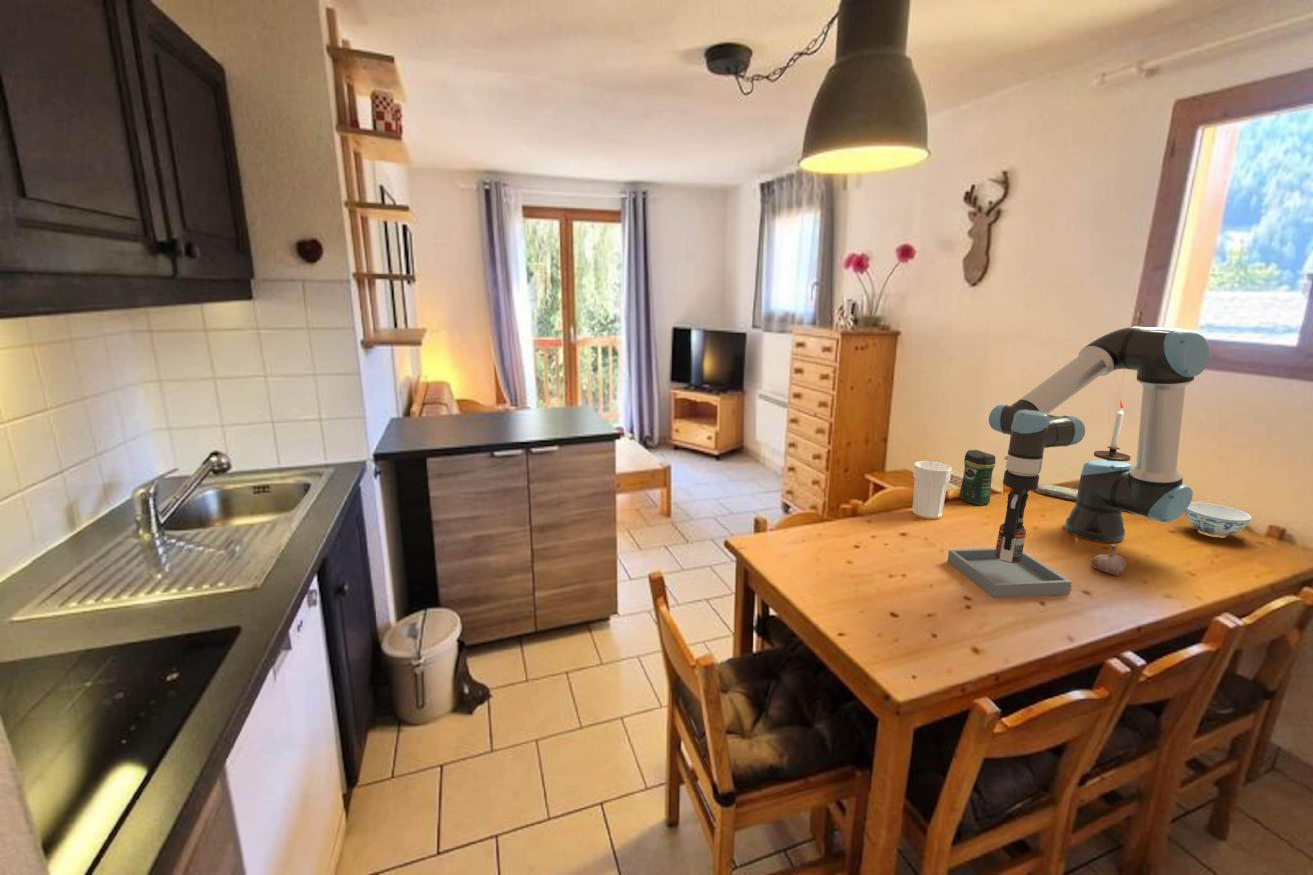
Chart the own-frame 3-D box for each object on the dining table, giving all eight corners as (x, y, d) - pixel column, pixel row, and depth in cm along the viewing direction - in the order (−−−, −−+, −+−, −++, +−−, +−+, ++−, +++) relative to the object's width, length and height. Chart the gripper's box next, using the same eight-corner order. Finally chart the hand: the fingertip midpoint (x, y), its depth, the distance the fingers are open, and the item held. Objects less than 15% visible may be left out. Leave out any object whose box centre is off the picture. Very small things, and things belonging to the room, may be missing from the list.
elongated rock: (1037, 491, 224) (1031, 499, 217) (1038, 478, 223) (1033, 486, 216) (1156, 509, 201) (1154, 518, 194) (1158, 494, 199) (1156, 503, 192)
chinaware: (1259, 544, 173) (1266, 520, 172) (1208, 544, 174) (1214, 520, 172) (1213, 524, 188) (1219, 502, 186) (1166, 524, 188) (1172, 502, 186)
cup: (951, 521, 191) (958, 470, 187) (917, 521, 191) (923, 470, 187) (935, 508, 202) (942, 460, 198) (903, 508, 202) (908, 460, 198)
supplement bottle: (989, 554, 155) (995, 514, 152) (1010, 553, 156) (1017, 513, 153) (1004, 564, 149) (1011, 523, 146) (1026, 563, 150) (1033, 522, 147)
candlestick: (1079, 487, 223) (1097, 398, 215) (1102, 485, 226) (1119, 396, 217) (1107, 497, 213) (1126, 403, 204) (1130, 494, 216) (1150, 402, 207)
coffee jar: (993, 504, 206) (1001, 454, 201) (975, 506, 203) (983, 456, 199) (972, 495, 215) (979, 447, 210) (954, 497, 212) (961, 448, 208)
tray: (1014, 558, 164) (1016, 547, 163) (1069, 594, 145) (1071, 581, 144) (947, 561, 162) (949, 549, 162) (993, 597, 143) (995, 585, 142)
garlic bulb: (1126, 580, 152) (1132, 552, 150) (1091, 573, 156) (1097, 546, 154) (1121, 568, 158) (1127, 541, 156) (1088, 562, 162) (1094, 536, 160)
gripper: (1012, 460, 156) (999, 540, 162) (997, 477, 142) (984, 564, 147) (1045, 466, 151) (1030, 547, 157) (1033, 484, 137) (1018, 573, 143)
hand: (1008, 555), depth 152 cm, fingers closed on supplement bottle, 6 cm apart
